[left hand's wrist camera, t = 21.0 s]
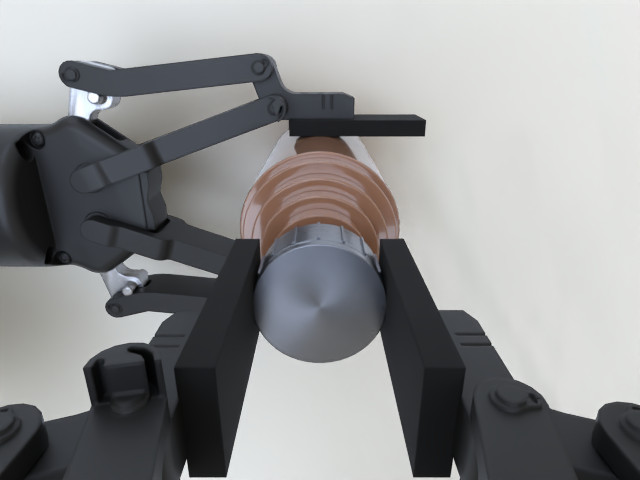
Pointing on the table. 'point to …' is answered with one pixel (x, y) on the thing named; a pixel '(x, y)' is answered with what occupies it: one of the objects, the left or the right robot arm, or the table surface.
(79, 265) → the right robot arm
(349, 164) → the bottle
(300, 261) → the cap
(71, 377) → the table surface
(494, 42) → the table surface
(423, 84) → the table surface
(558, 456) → the left robot arm
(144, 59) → the table surface
